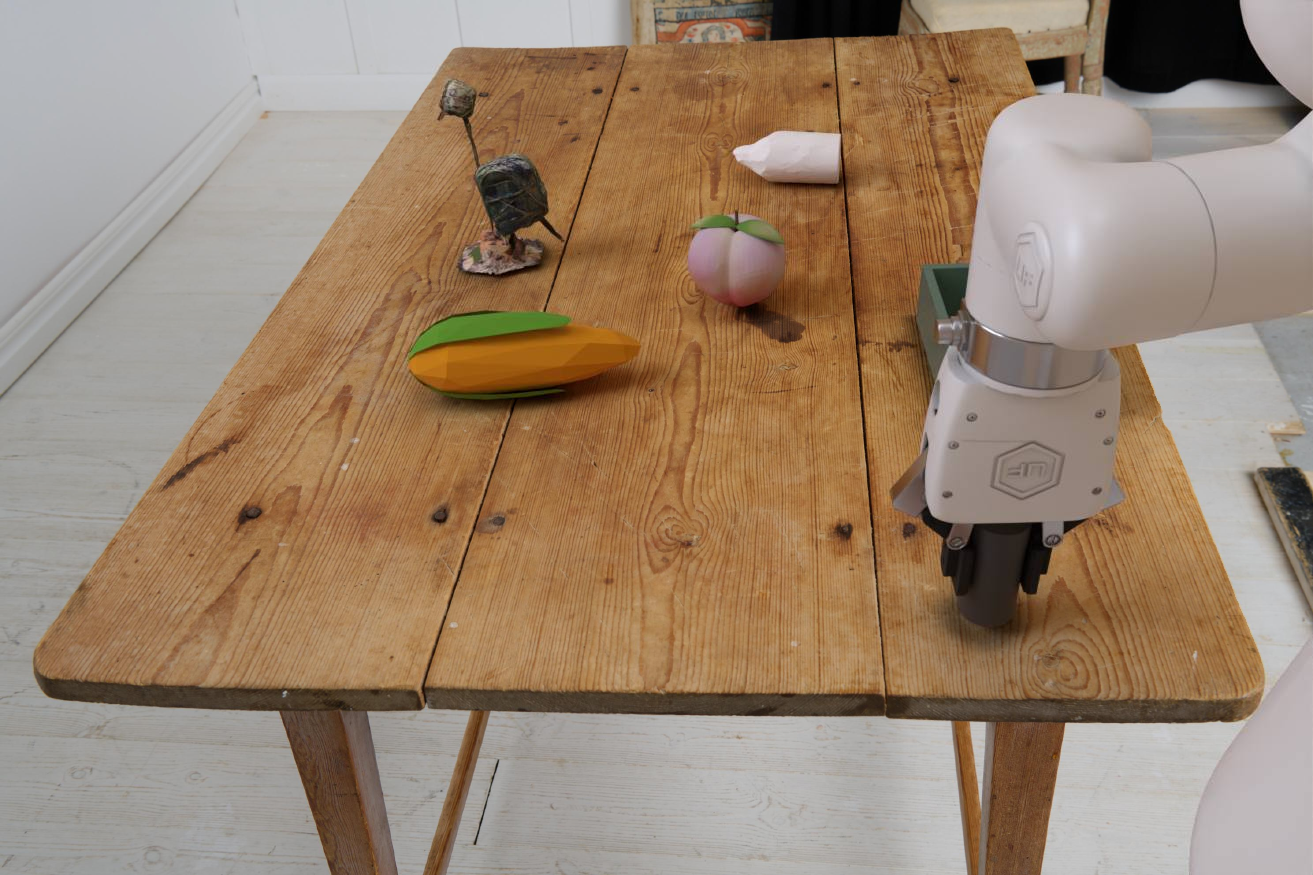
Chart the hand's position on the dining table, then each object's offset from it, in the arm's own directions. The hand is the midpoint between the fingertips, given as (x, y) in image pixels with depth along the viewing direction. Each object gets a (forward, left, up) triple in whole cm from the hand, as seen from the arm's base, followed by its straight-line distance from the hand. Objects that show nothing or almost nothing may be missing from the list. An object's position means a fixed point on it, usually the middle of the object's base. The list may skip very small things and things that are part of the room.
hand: (990, 577), depth 68 cm
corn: (+43, +7, -4) cm, 44 cm away
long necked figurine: (+63, -4, -4) cm, 63 cm away
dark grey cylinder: (0, 0, -3) cm, 3 cm away
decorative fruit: (+40, -15, -4) cm, 43 cm away
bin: (+16, -24, -4) cm, 29 cm away
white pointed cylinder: (+56, -37, -4) cm, 67 cm away
